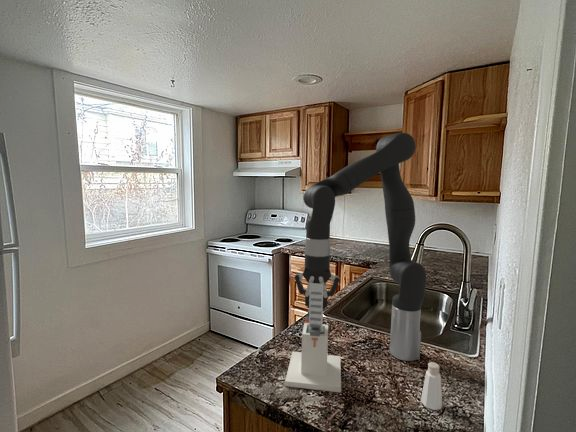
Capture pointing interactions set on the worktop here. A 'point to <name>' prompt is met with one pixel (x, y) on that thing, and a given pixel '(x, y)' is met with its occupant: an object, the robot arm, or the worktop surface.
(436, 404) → the pepper shaker
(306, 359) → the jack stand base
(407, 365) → the worktop surface
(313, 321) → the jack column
